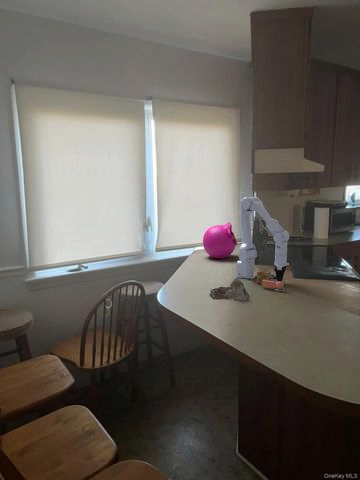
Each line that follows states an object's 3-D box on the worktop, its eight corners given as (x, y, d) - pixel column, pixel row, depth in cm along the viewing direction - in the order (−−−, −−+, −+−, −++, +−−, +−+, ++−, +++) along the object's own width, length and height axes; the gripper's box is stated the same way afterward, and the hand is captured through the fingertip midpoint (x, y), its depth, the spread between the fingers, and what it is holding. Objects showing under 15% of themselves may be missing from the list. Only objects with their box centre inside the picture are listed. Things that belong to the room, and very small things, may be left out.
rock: (249, 292, 164) (248, 275, 159) (249, 307, 155) (248, 289, 150) (211, 292, 167) (209, 276, 163) (209, 307, 158) (207, 290, 154)
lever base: (273, 291, 166) (273, 289, 166) (274, 288, 171) (274, 286, 171) (284, 292, 164) (284, 290, 164) (285, 289, 169) (285, 287, 169)
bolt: (259, 282, 180) (259, 271, 180) (260, 280, 184) (260, 269, 183) (282, 284, 176) (282, 273, 176) (282, 282, 180) (283, 271, 179)
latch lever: (282, 290, 165) (282, 283, 164) (261, 286, 171) (261, 280, 170) (284, 288, 168) (284, 282, 167) (263, 284, 173) (263, 279, 173)
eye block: (256, 283, 179) (257, 271, 178) (258, 279, 186) (259, 268, 185) (268, 284, 177) (269, 272, 176) (270, 280, 184) (270, 269, 183)
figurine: (239, 261, 233) (240, 224, 229) (203, 261, 233) (203, 224, 229) (234, 254, 256) (235, 220, 252) (202, 254, 256) (202, 220, 252)
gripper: (288, 257, 168) (287, 285, 170) (290, 252, 182) (289, 277, 184) (273, 256, 171) (272, 283, 173) (276, 251, 184) (275, 276, 186)
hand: (280, 280), depth 178 cm, fingers closed on bolt, 4 cm apart
